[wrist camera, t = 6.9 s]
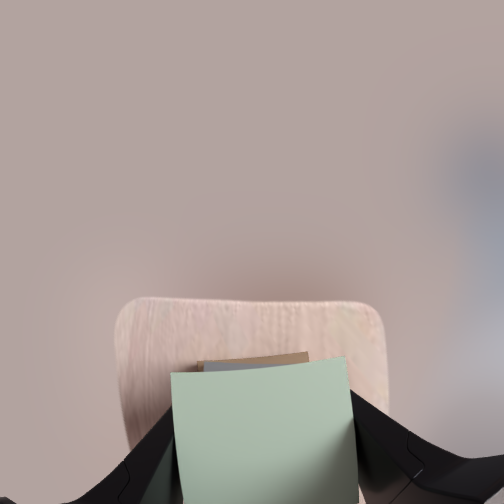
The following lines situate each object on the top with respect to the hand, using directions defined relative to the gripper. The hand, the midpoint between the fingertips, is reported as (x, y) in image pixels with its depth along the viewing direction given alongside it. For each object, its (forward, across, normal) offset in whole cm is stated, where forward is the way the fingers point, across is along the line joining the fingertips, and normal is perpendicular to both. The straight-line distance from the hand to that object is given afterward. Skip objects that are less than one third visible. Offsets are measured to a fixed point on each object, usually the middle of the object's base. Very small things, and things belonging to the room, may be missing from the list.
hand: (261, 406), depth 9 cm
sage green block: (+4, 0, +6) cm, 7 cm away
